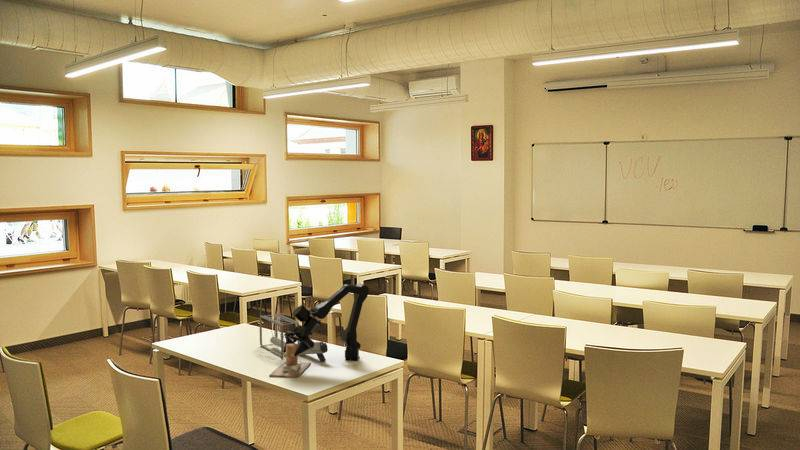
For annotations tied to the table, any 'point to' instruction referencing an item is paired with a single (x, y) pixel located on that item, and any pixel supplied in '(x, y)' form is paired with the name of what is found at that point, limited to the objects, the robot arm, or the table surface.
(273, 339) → the newton's cradle
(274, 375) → the brown board with rail
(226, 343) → the table surface
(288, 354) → the tapered tan cup
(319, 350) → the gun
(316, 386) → the table surface
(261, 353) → the table surface
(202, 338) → the table surface
